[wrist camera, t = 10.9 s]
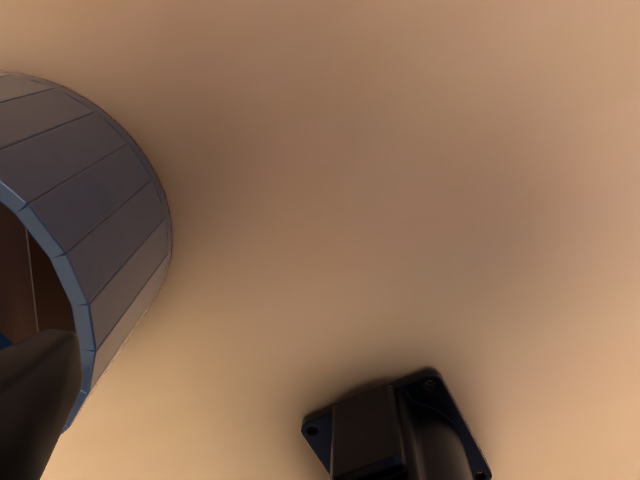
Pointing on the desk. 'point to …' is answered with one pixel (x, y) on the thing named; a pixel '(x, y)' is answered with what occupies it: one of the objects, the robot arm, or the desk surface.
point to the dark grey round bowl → (85, 213)
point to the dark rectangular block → (28, 285)
